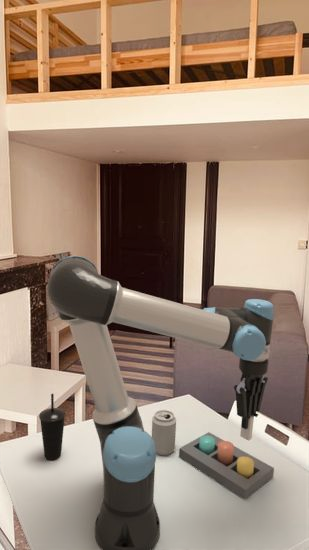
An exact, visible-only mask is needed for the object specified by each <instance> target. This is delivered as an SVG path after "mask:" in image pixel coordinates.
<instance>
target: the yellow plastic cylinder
mask: <svg viewBox="0 0 309 550" xmlns="http://www.w3.org/2000/svg"><path fill="white" fill-rule="evenodd" d="M253 470H254V461H253V460H252V459H251V458H249V457H245V456H242V457H239V458H238V459H237V472H236V473H238V474H240V475H241V476H243V477H245V478H246V479H249V478H250V477H252V476H253Z"/></svg>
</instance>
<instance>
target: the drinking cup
mask: <svg viewBox="0 0 309 550" xmlns="http://www.w3.org/2000/svg"><path fill="white" fill-rule="evenodd" d="M54 394H55V393H51V394H50V397H51V398H50V403H51V404H50V407H49V408H46V409H44V410H42V411H41V412H40V413H39V415H38V418H39V420H40V429H41V435H42V436H41V437H42V445H43V454H44V455H43V456H44V459H45V460H46V461H54V462H55V461H56V460H59V459H60V458H61V456H62V450H63V449H62V448H63V447H62V446H63V435H64V425H65V418H66V415H67V414H66V410H64V408H61V407H60V408H59V407H54V406H55V405H54V404H55V403H54V398H55V397H54Z"/></svg>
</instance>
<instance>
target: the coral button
mask: <svg viewBox="0 0 309 550" xmlns="http://www.w3.org/2000/svg"><path fill="white" fill-rule="evenodd" d="M234 446H235V444H233V442H230V441H227V440H224V441H221V442H219V443H218V453H217V461H218V462H220V463H222V464H223V465H225V466H229V465H231V464H232V463H233V452H234Z"/></svg>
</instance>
